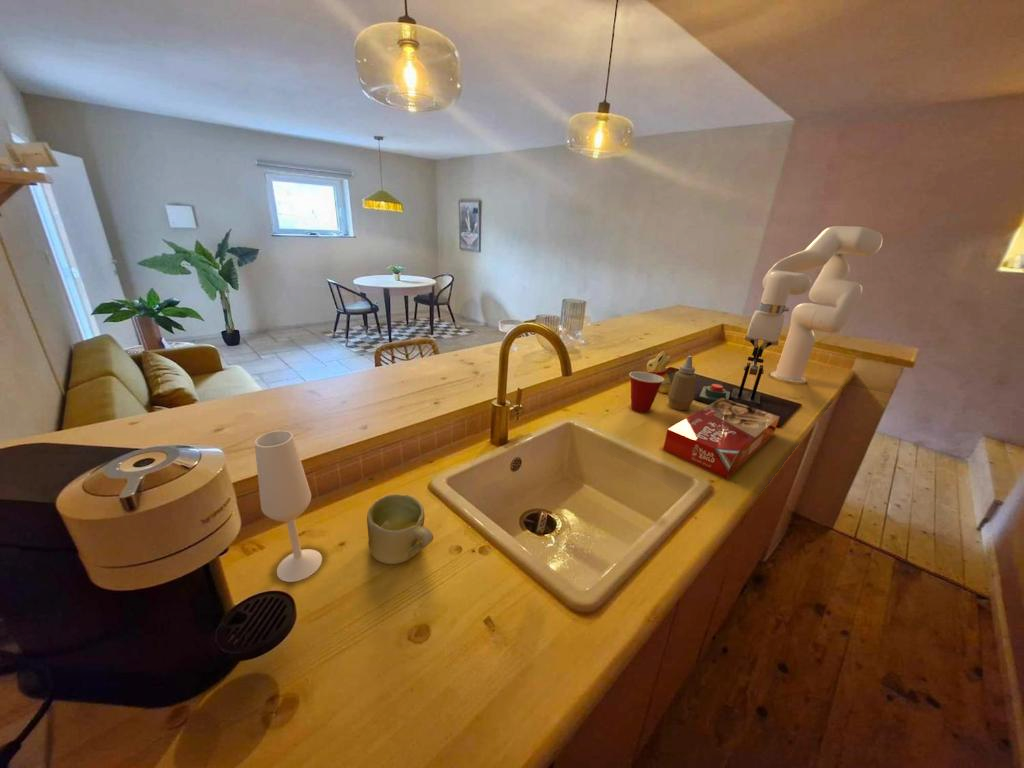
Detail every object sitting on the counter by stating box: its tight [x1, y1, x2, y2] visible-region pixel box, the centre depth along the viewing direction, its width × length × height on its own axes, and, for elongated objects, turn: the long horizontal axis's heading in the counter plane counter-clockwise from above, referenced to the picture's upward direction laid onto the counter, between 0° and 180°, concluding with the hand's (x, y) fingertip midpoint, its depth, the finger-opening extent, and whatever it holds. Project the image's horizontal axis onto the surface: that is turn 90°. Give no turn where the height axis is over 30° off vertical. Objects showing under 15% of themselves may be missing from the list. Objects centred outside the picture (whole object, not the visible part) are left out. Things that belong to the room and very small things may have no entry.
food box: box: [662, 398, 780, 480], centre depth 109 cm, size 35×16×6 cm, turn 132°
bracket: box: [730, 362, 765, 405], centre depth 139 cm, size 11×9×13 cm
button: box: [710, 383, 724, 392], centre depth 137 cm, size 4×4×2 cm
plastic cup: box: [628, 371, 664, 414], centre depth 126 cm, size 11×11×12 cm
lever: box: [747, 356, 765, 376], centre depth 141 cm, size 12×5×2 cm, turn 148°
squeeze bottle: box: [667, 355, 697, 411], centre depth 128 cm, size 8×8×18 cm
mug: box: [366, 493, 434, 565], centre depth 67 cm, size 12×10×10 cm
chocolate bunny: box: [645, 350, 672, 394], centre depth 143 cm, size 7×11×15 cm, turn 38°
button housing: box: [698, 385, 731, 404], centre depth 138 cm, size 12×9×4 cm
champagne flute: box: [254, 429, 323, 583], centre depth 60 cm, size 7×7×24 cm
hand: (755, 358), depth 145 cm, fingers closed
